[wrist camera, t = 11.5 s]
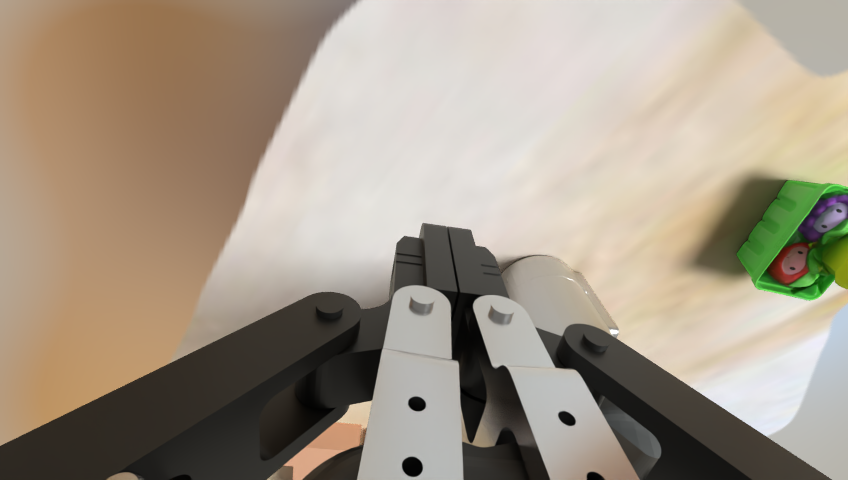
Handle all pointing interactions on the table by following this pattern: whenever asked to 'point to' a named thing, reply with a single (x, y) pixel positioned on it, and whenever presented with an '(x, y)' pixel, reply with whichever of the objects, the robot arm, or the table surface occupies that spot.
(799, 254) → the fruit basket
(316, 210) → the table surface
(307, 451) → the T-block
